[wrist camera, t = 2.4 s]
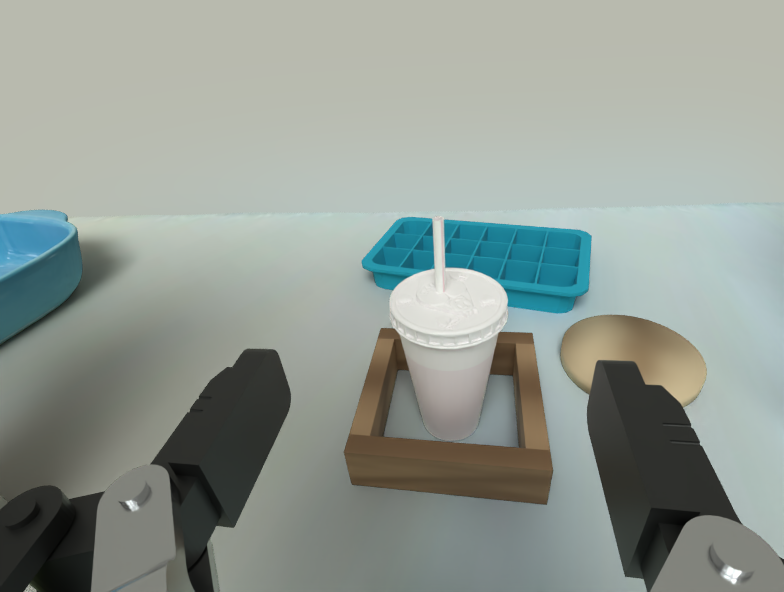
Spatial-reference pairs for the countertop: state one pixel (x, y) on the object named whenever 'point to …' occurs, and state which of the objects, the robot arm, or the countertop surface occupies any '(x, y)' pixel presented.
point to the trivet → (634, 353)
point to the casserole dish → (35, 267)
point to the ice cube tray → (491, 258)
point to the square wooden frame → (448, 459)
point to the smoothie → (449, 339)
